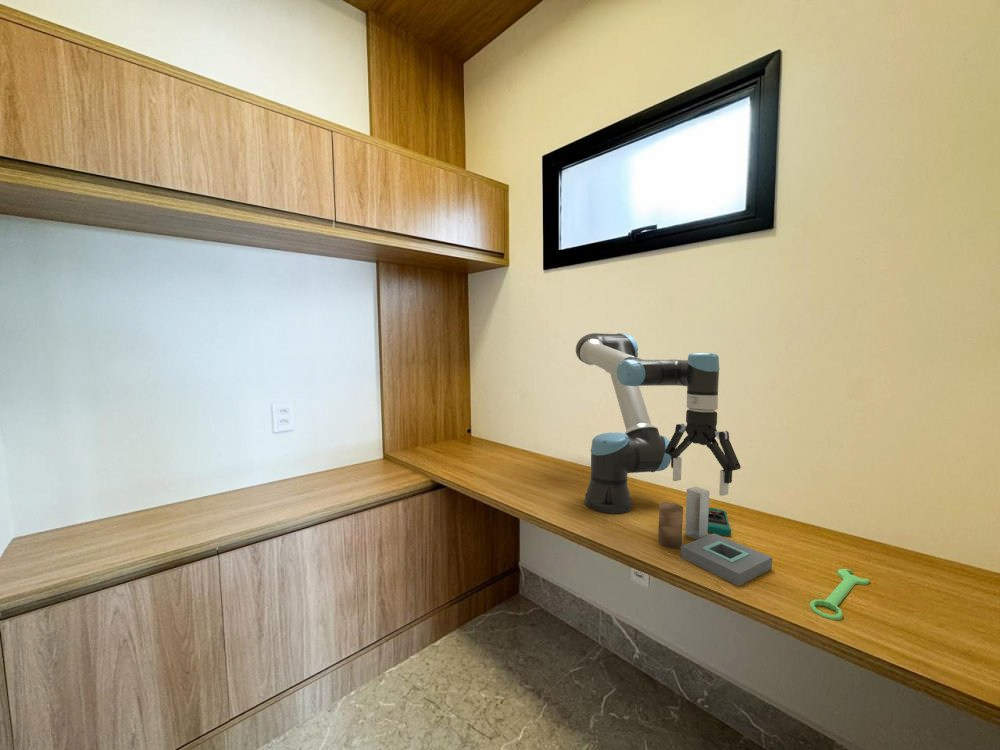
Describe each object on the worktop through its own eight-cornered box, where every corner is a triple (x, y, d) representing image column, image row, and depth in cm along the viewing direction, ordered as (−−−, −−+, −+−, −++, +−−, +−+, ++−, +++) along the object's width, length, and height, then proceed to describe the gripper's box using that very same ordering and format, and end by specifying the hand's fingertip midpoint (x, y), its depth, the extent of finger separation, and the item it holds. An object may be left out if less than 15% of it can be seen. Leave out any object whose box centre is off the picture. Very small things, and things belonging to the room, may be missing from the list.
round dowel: (653, 541, 106) (654, 504, 105) (667, 536, 109) (668, 500, 108) (672, 550, 101) (673, 512, 100) (686, 545, 104) (687, 508, 103)
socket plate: (680, 557, 98) (681, 545, 98) (713, 543, 105) (714, 532, 105) (738, 586, 86) (739, 572, 86) (771, 568, 93) (772, 556, 93)
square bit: (685, 534, 110) (686, 488, 109) (693, 531, 112) (695, 486, 111) (698, 540, 106) (700, 493, 106) (707, 537, 108) (709, 490, 108)
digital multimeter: (726, 518, 122) (726, 509, 122) (731, 538, 109) (731, 528, 109) (699, 514, 125) (699, 504, 125) (701, 533, 112) (701, 523, 112)
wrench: (871, 584, 89) (840, 573, 93) (871, 575, 89) (841, 565, 93) (839, 627, 74) (804, 611, 78) (840, 617, 74) (805, 602, 78)
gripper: (653, 405, 116) (651, 476, 117) (741, 417, 94) (738, 504, 95) (670, 404, 120) (668, 473, 121) (758, 415, 98) (754, 499, 99)
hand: (699, 487), depth 108 cm, fingers open, 13 cm apart
